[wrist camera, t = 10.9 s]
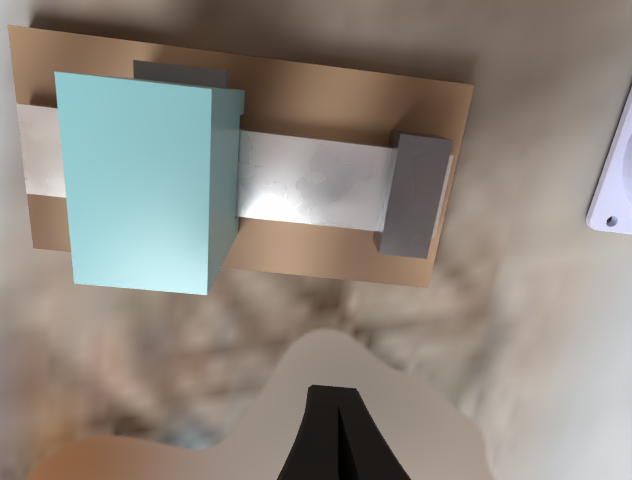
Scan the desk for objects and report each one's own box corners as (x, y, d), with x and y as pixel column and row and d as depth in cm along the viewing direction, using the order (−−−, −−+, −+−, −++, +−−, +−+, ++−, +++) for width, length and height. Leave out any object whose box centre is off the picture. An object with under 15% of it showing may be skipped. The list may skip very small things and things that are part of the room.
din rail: (450, 137, 17) (466, 141, 16) (427, 245, 19) (438, 260, 17) (27, 85, 16) (-5, 85, 15) (40, 203, 18) (12, 215, 16)
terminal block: (245, 74, 16) (212, 64, 11) (238, 233, 18) (207, 294, 13) (142, 62, 16) (51, 46, 10) (146, 224, 18) (74, 283, 13)
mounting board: (464, 85, 18) (474, 85, 17) (421, 277, 21) (428, 287, 20) (28, 29, 17) (7, 24, 16) (49, 239, 20) (33, 248, 19)
